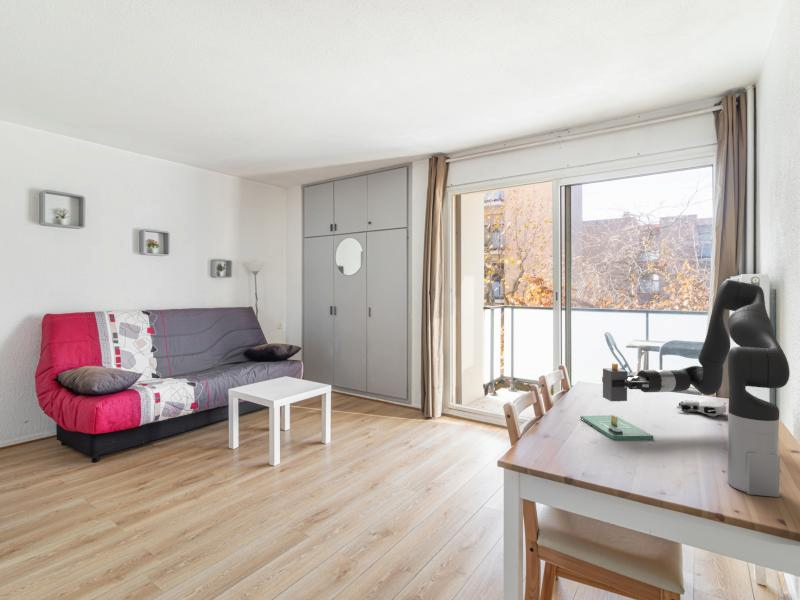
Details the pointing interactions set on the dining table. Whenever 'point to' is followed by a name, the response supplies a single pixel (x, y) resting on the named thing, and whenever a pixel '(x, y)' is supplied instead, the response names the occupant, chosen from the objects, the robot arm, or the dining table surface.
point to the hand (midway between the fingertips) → (607, 381)
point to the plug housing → (614, 392)
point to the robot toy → (703, 407)
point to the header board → (617, 428)
